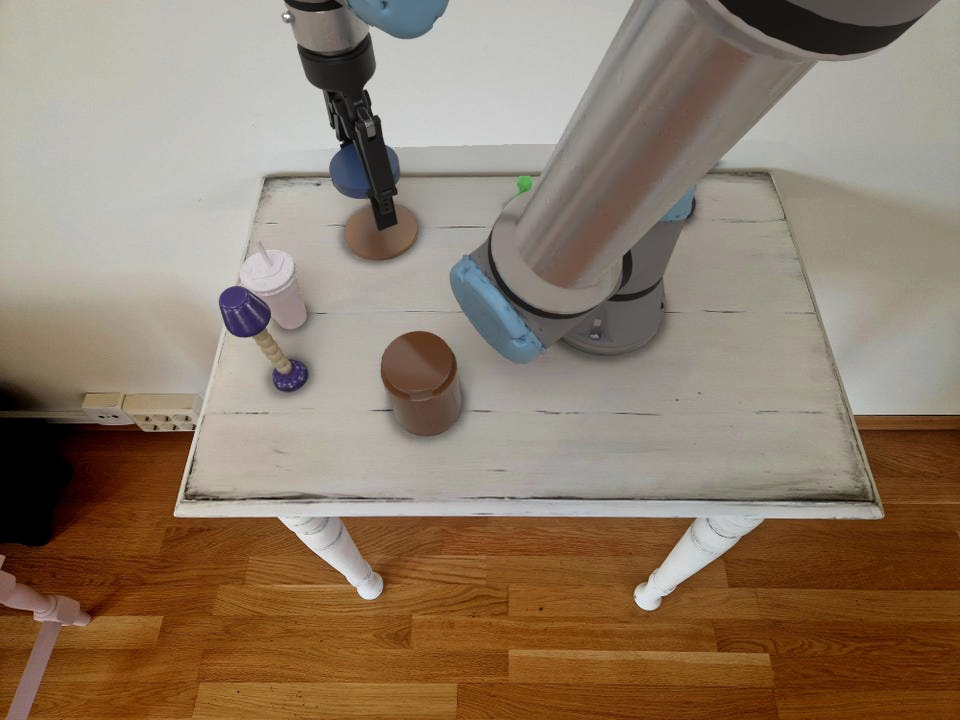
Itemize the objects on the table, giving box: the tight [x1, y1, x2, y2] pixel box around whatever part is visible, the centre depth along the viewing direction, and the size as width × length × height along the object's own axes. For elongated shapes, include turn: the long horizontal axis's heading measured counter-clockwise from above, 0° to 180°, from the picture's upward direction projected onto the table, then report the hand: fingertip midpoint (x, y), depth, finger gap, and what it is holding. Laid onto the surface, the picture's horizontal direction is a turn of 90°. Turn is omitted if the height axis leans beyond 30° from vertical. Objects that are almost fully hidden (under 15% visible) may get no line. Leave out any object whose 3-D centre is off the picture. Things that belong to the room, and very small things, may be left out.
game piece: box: [515, 175, 534, 197], centre depth 81 cm, size 4×4×6 cm
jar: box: [380, 330, 462, 437], centre depth 63 cm, size 8×8×10 cm
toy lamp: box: [218, 285, 309, 393], centre depth 62 cm, size 5×5×17 cm
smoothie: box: [239, 238, 308, 330], centre depth 68 cm, size 6×6×14 cm
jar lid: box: [328, 143, 401, 200], centre depth 72 cm, size 9×9×2 cm
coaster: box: [343, 204, 419, 261], centre depth 81 cm, size 10×10×1 cm
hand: (373, 203), depth 77 cm, fingers closed on jar lid, 9 cm apart
